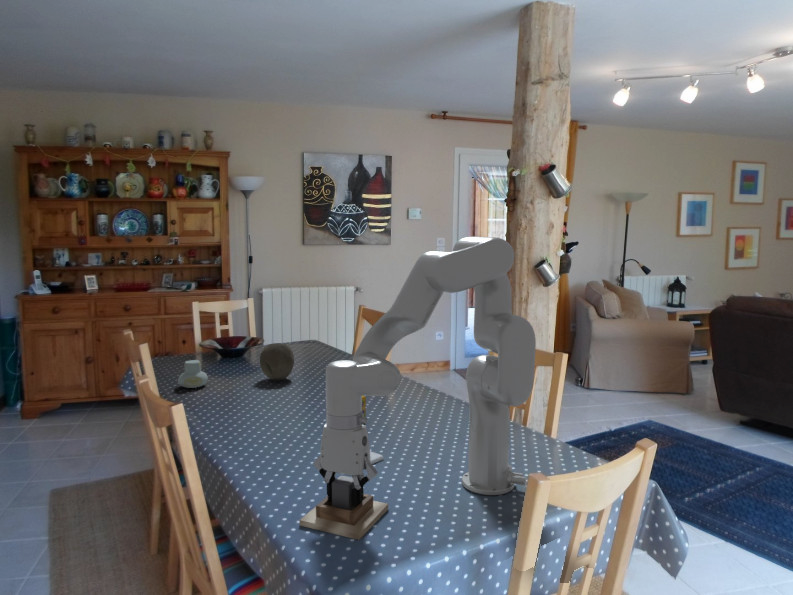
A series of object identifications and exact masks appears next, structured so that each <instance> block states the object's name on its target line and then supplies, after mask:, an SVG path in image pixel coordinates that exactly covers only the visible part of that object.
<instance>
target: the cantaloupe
mask: <svg viewBox="0 0 793 595" xmlns="http://www.w3.org/2000/svg"><path fill="white" fill-rule="evenodd" d="M294 364H295V355H294V352H293V350H292V348H290V346H289V345H288V344H285V343H278V342H277V343H275V342H274V343H270V344H267V345H266V346H265V347H264V348H263V349H262V351H261V352H260V356H259V365H260V366H259V367H260V369H261V371H262V373H263V375H265V376H266V377H267V378H268V379H270V380H273V381H276V382H280V381H284V380H285V379H287V377H288V376H290V375H291V374H292V371H293V368H294Z"/></svg>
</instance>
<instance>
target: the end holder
mask: <svg viewBox="0 0 793 595" xmlns="http://www.w3.org/2000/svg"><path fill="white" fill-rule="evenodd" d="M388 510H389V503H387V502H381V501H377V500H374V495H371V494H368V493H367V494H366V493H364V498H363V501H362V502H361V503H360V504H359V505H358V506H357V507H356V508H355V509H354V510H352V511H349V510H345V509H340V508H336V507H332V501H331V502H329V501H328V495H327V496H326V497H324V499H322V500H321V501H320V502H318V503H317V504H316V505H315V507H314V508H312V509H311V510H310V511H309V512H307V513H306V514H305V515H304V516H302V517H301V518H300V519H299V526H301V527H303V528H304V527H305V528H309V529H313V530H318V531H319V532H320V531H321V532H323V533H324V532H325V533H328V534H333V535H337V536H342V537H345V538H350V539H354V540H359V541H360V540H361V539H362V538H363V537H364V536H365V535H366V534H367V532H368V531H369V530H370V529H371V528H372V527H373V526H374V525H375V524H376V523H377V522H378V520H380V519H381V518H382V517H383V515H384V514H385V513H386V512H387V511H388Z"/></svg>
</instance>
